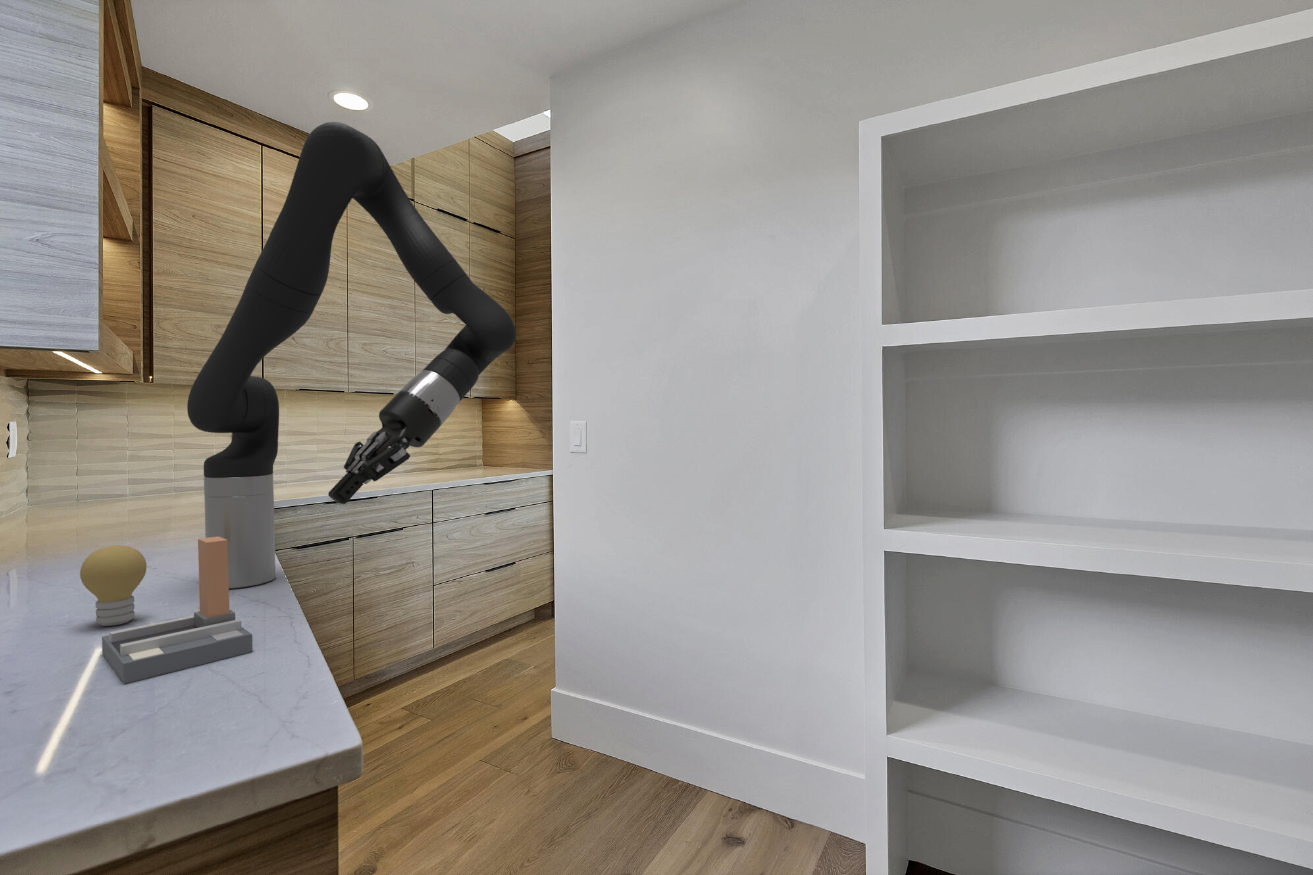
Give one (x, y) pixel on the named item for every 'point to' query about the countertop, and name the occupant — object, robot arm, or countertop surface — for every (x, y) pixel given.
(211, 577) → the lever
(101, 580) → the light bulb
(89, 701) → the countertop surface
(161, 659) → the switch panel
